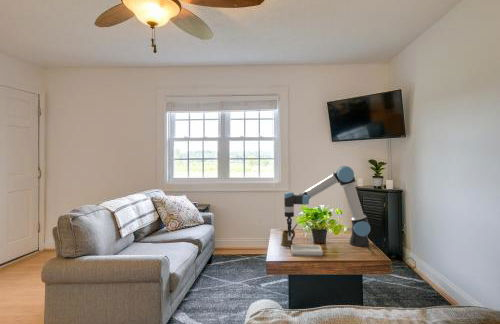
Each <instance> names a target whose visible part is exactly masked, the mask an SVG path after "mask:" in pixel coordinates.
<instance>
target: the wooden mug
mask: <svg viewBox="0 0 500 324" xmlns="http://www.w3.org/2000/svg"><path fill="white" fill-rule="evenodd" d="M297 226H298V222H297V223H296V224H295V225H294V227H292V228H291V240H288V232H287V231H288V229H285V230H282V237H281V244H280V246H282V247H291V245H294V244H293V240H294V238H295V236H296V233H295V229H296V228H297Z"/></svg>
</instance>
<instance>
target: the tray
mask: <svg viewBox="0 0 500 324" xmlns="http://www.w3.org/2000/svg"><path fill="white" fill-rule="evenodd" d="M290 251H291V253H290V254H291V256H305V257H306V256H311V257H313V256H315V257H323V253H324V252H323V249H322V247H321V245H318V244H317V245H316V244H314V245H311V244H293V245H291V246H290Z"/></svg>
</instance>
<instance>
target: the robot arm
mask: <svg viewBox="0 0 500 324" xmlns="http://www.w3.org/2000/svg"><path fill="white" fill-rule="evenodd" d="M356 181H357V180H356V177H355V172H354V170H353V168H351V167H350V166H347V165H341V166H340V167H339V168H337V169H336V170H335V171H333V172H331V175H329V176H327V177H326V178H324V179H322V180H320V181H319V182H317V183H315V184H314V185H312V186H311V187H309V188H308V189H306V190H305V191H302V192H300V193H299V194H294V192H292V191H291V192H290V191H288V192H287V191H286V192H285V193H284V199H283V200H284V203H283V204H284V207H283V209H284V217H286V224H287V230H288V231H287V232H288V240H291V237H292V235H291V234H292V233H291V230H292V229H293V227H292V225H293V224H292V221H293V217H295V212H294V211H295V205H303V206H307V205H309V204H310V200H311V199H313V197H315V196H317V195H319V194H320V193H322V192H324V191H326V190H327V189H329V188H330V187H333V186H334V185H335V184H339V185H340V187H343V191H344V194H345V195H344V196H345V198H346V201H347V205H348V208H349V210H350V214H351V218H350V222H351V235H350V239H349V244H350V245H352V246H354V247H369V246H370V239H369V237H368V235H369V234H370V232H371V225H370V223H369V221H368V217H367V215H366V214H364V210H363V208H362V204H361V202H360V198H359V196H358V195H359V194H358V192H357V189H356V185H355V183H357V182H356Z"/></svg>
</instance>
